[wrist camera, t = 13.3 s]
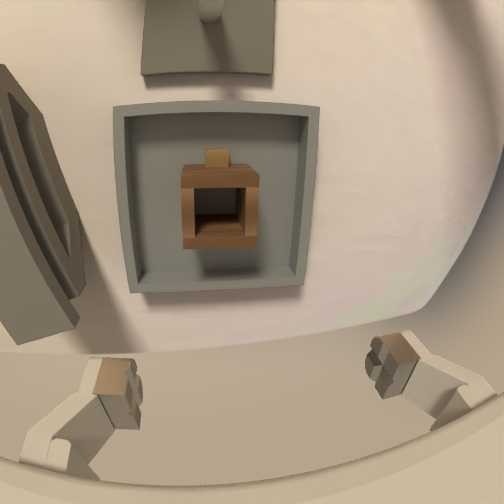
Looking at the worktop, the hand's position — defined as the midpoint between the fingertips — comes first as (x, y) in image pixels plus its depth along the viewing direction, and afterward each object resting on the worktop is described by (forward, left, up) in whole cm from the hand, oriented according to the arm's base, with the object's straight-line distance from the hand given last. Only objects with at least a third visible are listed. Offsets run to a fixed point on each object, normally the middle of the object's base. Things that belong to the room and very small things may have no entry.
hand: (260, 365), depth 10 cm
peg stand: (+1, -18, -23) cm, 29 cm away
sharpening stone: (+20, -3, -23) cm, 31 cm away
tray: (0, 0, -23) cm, 23 cm away
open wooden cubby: (0, 0, -22) cm, 22 cm away
